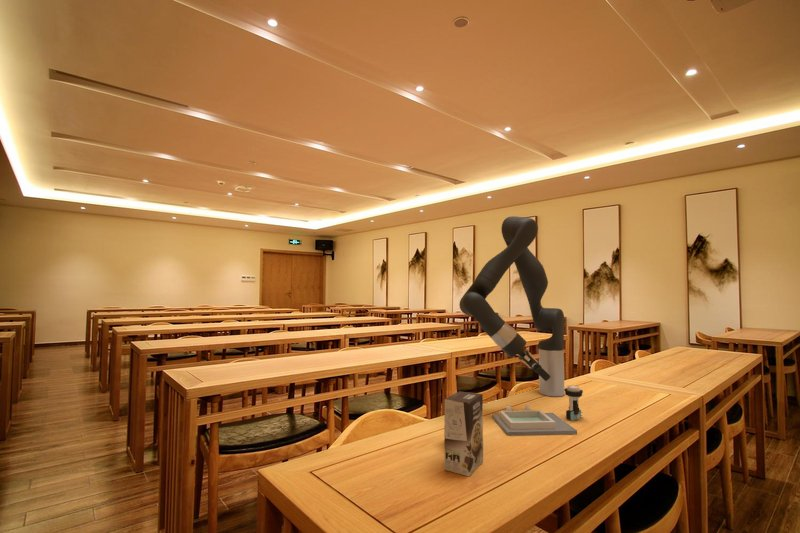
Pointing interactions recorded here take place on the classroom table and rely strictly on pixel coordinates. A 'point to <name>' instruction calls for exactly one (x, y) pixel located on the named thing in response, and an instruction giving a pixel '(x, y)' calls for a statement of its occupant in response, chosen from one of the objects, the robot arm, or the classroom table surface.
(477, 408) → the coffee box
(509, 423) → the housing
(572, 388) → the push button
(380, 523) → the classroom table surface
